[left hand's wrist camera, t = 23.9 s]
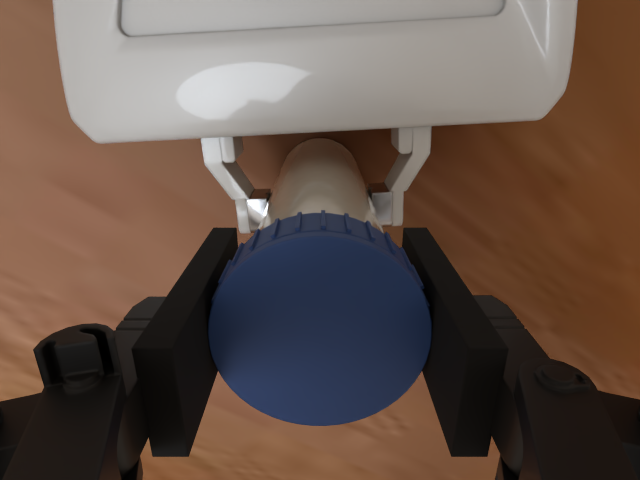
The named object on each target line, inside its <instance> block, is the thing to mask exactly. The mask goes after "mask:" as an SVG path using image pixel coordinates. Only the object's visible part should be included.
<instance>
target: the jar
mask: <svg viewBox="0 0 640 480" xmlns="http://www.w3.org/2000/svg"><path fill="white" fill-rule="evenodd" d="M321 210H325V213H333V214H340V215H344V213H348V214H349V217H352V218H356V219H358V220H360V221H363V222H365V223H366V221H367V220H368V221H370V222H371V225H372V226H373V227H375V228H376V229H378V230H380V231H381V232H382V233H384V231H383V228H382V226H381V223H380V220H379V218H378V215H377V213H376V210H375V208H374V205H373V203H372V200H371V198H370V195H369V193H368V190H367V188H366V185H365V183H364V180H363V178H362V175H361V173H360V170H359V168H358V165H357V163H356V161H355V159H354V157H353V155H352V154H351V153H350V151H349V150H348V149H347V148H345V147H344V146H343V145H341V144H340V143H338V142H336V141H333V140H330V139H325V138H315V139H310V140H307V141H304V142H302V143H300V144H299V145H297V146H296V147H295V148H293V149H292V150H291V151H290V153H289V154H288V155H287V157H286V159H285V161H284V163H283V165H282V168H281V170H280V173H279V175H278V178H277V180H276V183H275V185H274V188H273V190H272V193H271V195H270V198H269V200H268V203H267V205H266V208H265V210H264V213H263V215H262V218H261V220H260V223H259V225H258V228H259V229H260V230H262V229H263V228H265V227H267V226H269V225H271V224H272V223H274V222H275V219H277V218H279V219H280V220H282V219H285V218H287V217H291V216H296V215H297V213H298V212H302V214H308V213H321ZM258 228H257V229H258ZM384 234H385V233H384Z"/></svg>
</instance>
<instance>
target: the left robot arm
mask: <svg viewBox="0 0 640 480" xmlns="http://www.w3.org/2000/svg"><path fill="white" fill-rule="evenodd" d="M402 248H403V249H404V251H405V253H406V255H407V257H408V259H409V261H410V263H411V265H412V264H413V265H414V267H415V269H416V271H417V273H418V275H419V278H420V280H421V282H422V284H423V286H424V289H422V290H423V292H424V294H425V296H426V298H427V301H428V303H429V305H430V309H429V310H430V315H431V321H432V339H431V347H430V350H429V354H428V357H427V360H426V363H425V365H424V367H423V369H422V372H423V375H424V378H425V381H426V384H427V387H428V389H429V392H430V395H431V398H432V401H433V404H434V407H435V410H436V413H437V416H438V419H439V422H440V425H441V428H442V431H443V433H444V436H445V439H446V442H447V445H448V448H449V451H450V454H451V457H487V456H488V451H489V446H490V441H491V436H492V437H493V439H494V442H495V444H496V446H497V448H498V450H499V452H500V458H499V463H498V468H497V472H496V477H495V480H640V400H639V399H634V398H629V397H624V396H619V395H615V394H610V393H605V392H602V391H598V390H597V388H596V386H595V385H594V383H593V382H592V381H591V379H590V378H589V377H588V376H587V375H585V374H584V373H583V372H581V371H580V370H578V369H577V368H575V367H573V366H571V365H568V364H566V363H564V362H561V361H557V360H553V359H550V358H549V357H548V356H547V354H546V353H545V352H544V351H543V349H542V348H541V347H540V346H539V344H538V343H537V342H536V341H535V339H534V338H533V337H532V336H531V334H530V333H529V332H528V331H527V329H524V326H523V324H522V323H521V322H520V321H519V319H517V317H516V316H515V314H514V313H513V312H512V311H511V309H510V308H509V307H508V306H507V305H506V304H504V303H503V302H501V301H500V300H498V299H497V298H495V297H493V296H492V295H472V294H471V292H470V291H469V289H468V288H467V287H466V285H465V284H464V282H463V281H462V279H461V278H460V276H459V275H458V273H457V272H456V270H455V269H454V267H453V266H452V265H451V263H450V262H449V260H448V259H447V257H446V256H445V254H444V253H443V251H442V250H441V248H440V247H439V245H438V244H437V243H436V241H435V240H434V238H433V237H432V235H431V234H430V232H429V231H428V229H427V228H404V229H403V242H402ZM237 249H238V242H237V229H236V228H213V229H212V231H211V232H210V234H209V235H208V237H207V238H206V240H205V241H204V243H203V244H202V245H201V247H200V248H199V250H198V251H197V253H196V254H195V256H194V257H193V259H192V260H191V262H190V263H189V265H188V266H187V267H186V269H185V270H184V272H183V273H182V275H181V276H180V278H179V279H178V281H177V282H176V284H175V285H174V287H173V288H172V290H171V291H170V292H169V294H168V295H167V297H147V298H146V299H144V300H143V301H141V302H140V303H138V304H136V305H135V306H133V307H132V309H131V310H130V311H129V312H128V314H127V315H126V316H125V317H124V321H121V322H120V324H119V325H118V326H117V327H116V331H113V330H112V329H111V328H109V327H108V326H106V325H101V324H97V323H95V324H81V325H76V326H72V327H67V328H65V329H63V330H60V331H58V332H55V333H53V334H51V335H50V336H48V337H46V338H45V339H43V340H42V341H40V343H39V344H38V345H37V346H36V347H35V348H34V349H33V351H34V354H35V358H36V361H37V364H38V367H39V371H40V374H41V377H42V381H43V384H44V389H43V391H42V393H38V394H34V395H29V396H25V397H20V398H15V399H10V400H6V401H1V402H0V480H142V478H143V469H142V463H141V458H140V454H141V452H142V450H143V448H144V446H145V444H146V442H147V439H148V437H149V441H150V446H151V451H152V456H153V457H189V454H190V451H191V448H192V445H193V442H194V439H195V436H196V433H197V431H198V428H199V425H200V422H201V419H202V416H203V413H204V410H205V407H206V404H207V401H208V398H209V395H210V392H211V389H212V387H213V384H214V381H215V378H216V375H217V372H218V369H217V367H216V365H215V363H214V360H213V358H212V355H211V351H210V347H209V340H208V319H209V315H210V310H211V306H212V303H211V300H212V297H213V295H214V293H215V291H216V289H217V287H218V285H219V283H218V282H219V279H220V277H221V275H222V273H223V271H224V269H225V267H226V265H227V263H228V261H229V259H230V260H233V258H234V256H235V254H236V252H237Z"/></svg>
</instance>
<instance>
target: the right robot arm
mask: <svg viewBox="0 0 640 480" xmlns="http://www.w3.org/2000/svg"><path fill="white" fill-rule="evenodd" d="M577 3H578V0H53V11H54V22H55V32H56V42H57V49H58V56H59V64H60V70H61V76H62V82H63V87H64V92H65V97H66V102H67V106H68V110H69V114H70V116H71V119H72V120H73V122H74V123H75V124H76V125H77V126H78V127H79V128H80V129H81V130H82V131H83V132H84V133H85V134H86V135H87V136H88V137H89V138H91V139H92V140H93V141H94V142H96V143H101V144H103V143H123V142H142V141H161V140H180V139H199V138H201V144H202V151H203V157H204V164H205V166H206V167H207V168H208V169H209V171H210V172H211V173H212V175H213V176H214V177H215V178H216V180H217V181H218V182H219V183H220V185H221V186H222V187H223V189H224V190H225V191H226V192H227V194H228V195H229V196H230V198H231V199H232V200H235V204H236V211H237V219H238V226H239V231H240V233H255V231H256V230H257V228H258V225H259V223H260V220H261V218H262V215H263V213H264V210H265V208H266V205H267V203H268V200H269V198H270V195H271V189H254V187H253V186H252V184H251V183H250V181H249V180H248V178H247V177H246V175H245V174H244V172H243V171H242V170H241V168H240V167H239V165H238V164H237V162H236V161H235V160H236V159H237V158H238V157H239V156H240V155H241V154H242V153H243V142H242V136H255V135H274V134H293V133H312V132H331V131H350V130H368V129H387V128H391V144H392V145H393V146H394V147H395V148H396V149H397V150H398V151H399V152H400V154H399V155H398V157H397V159H396V161H395V163H394V164H393V166H392V168H391V170H390V172H389V173H388V175H387V177H386V179H385V181H384V183H373V184H368V193H369V195H370V198H371V200H372V203H373V205H374V208H375V210H376V213H377V215H378V218H379V220H380V223H381V226H382V227H387V226H402V223H403V199H404V191H407V189H408V188H409V186H410V185H411V183H412V181H413V180H414V178H415V177H416V175H417V173H418V172H419V170H420V169H421V167H422V165H423V164H424V162H425V161H426V159H427V158H428V156H429V154H430V148H431V129H432V126H444V125H463V124H481V123H500V122H519V121H537V120H540V119H542V118H543V117H544V116H545V115H546V114H547V113H548V112H549V111H550V110H551V109H552V108H553V107H554V105H555V104H556V103H557V102H558V100H559V99H560V98H561V97H562V95H563V94H564V92H565V90H566V87H567V83H568V79H569V74H570V68H571V62H572V55H573V47H574V38H575V28H576V17H577Z"/></svg>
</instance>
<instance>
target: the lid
mask: <svg viewBox="0 0 640 480" xmlns="http://www.w3.org/2000/svg"><path fill="white" fill-rule="evenodd" d="M218 283H219V285H218V287H217V289H216V291H215V293H214V295H213V297H212V300H211V303H212V306H211V310H210V315H209V319H208V340H209V347H210V351H211V355H212V358H213V360H214V363H215V365H216V367H217V369H218V371H219V373H220V374H221V376H222V378H223V379H224V381H225V382H226V383H227V384H228V386H229V387H230V388H231V389H232V390H233V391H234V392H235V393H236V394H237V395H238V396H239V397H240V398H241V399H243V400H244V401H245V402H246V403H248V404H249V405H250V406H252V407H254V408H256V409H257V410H259V411H261V412H263V413H265V414H267V415H269V416H271V417H274V418H277V419H280V420H283V421H286V422H291V423H295V424H301V425H310V426H329V425H339V424H344V423H349V422H353V421H357V420H360V419H363V418H366V417H368V416H371V415H373V414H375V413H377V412H379V411H381V410H383V409H384V408H386V407H388V406H389V405H391V404H392V403H393V402H395V401H396V400H398V399H399V398H400V397H401V396H402V395H403V394H404V393H405V392H406V391H407V390H408V389H409V388H410V387H411V386H412V384H413V383H414V382H415V381H416V379H417V377H418V376H419V374H420V373H421V371H422V369H423V367H424V365H425V363H426V360H427V357H428V354H429V350H430V347H431V339H432V321H431V315H430V310H429V309H430V305H429V303H428V301H427V298H426V296H425V294H424V292H423V290H422V289H424V286H423V284H422V282H421V280H420V278H419V275H418V273H417V271H416V269H415V267H414V265H413V264H412V265H411V263H410V261H409V259H408V257H407V255H406V253H405V251H404V249H403V248H402V247H401V248H399V247H398V246H397V245H396V244H395V243H394V242H393V241H392V240H391V237H390V235H389V234H388V233H387V232H386V233H385V234H384V233H382V232H381V231H380V230H378V229H376V228H375V227H373V226H372V225H371V222H370V221H368V220H367V221H366V223H365V222H363V221H360V220H358V219H356V218H352V217H349V214H348V213H344V215H340V214H333V213H325V210H321V213H308V214H302V212H298V213H297V215H296V216H291V217H287V218H285V219H282V220H280V219H279V218H277V219H275V222H274V223H272V224H271V225H269V226H267V227H265V228H263V229H262V230H260V229H259V228H258V229H257V230H256V231H255V233H254V235H253V236H252V237H251V238H250V239H249V240H248V241H247V242H246V243H245V244H243V243H241V244H240V245H239V247H238V249H237V252H236V254H235V256H234V258H233V260H230V259H229V261H228V263H227V265H226V267H225V269H224V271H223V273H222V275H221V277H220V279H219V282H218Z"/></svg>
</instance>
